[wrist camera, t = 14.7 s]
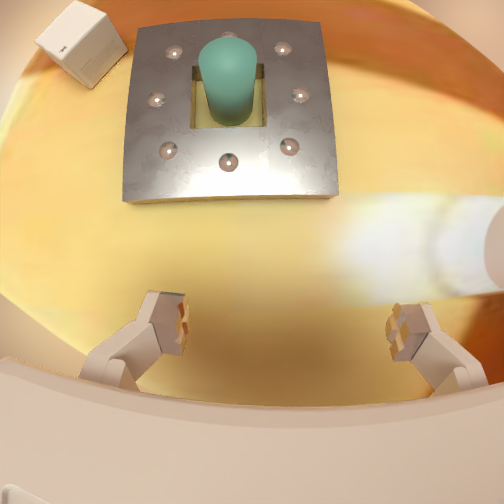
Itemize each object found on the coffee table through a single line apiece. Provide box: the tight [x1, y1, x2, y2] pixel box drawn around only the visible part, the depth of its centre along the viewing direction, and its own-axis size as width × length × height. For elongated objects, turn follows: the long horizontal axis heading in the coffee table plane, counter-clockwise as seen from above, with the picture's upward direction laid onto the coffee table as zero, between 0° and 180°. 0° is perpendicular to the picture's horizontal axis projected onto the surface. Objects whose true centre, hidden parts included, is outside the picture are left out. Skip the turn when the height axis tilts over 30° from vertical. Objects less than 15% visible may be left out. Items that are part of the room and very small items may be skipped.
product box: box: [35, 0, 128, 89], centre depth 23 cm, size 6×6×7 cm
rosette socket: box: [122, 18, 339, 204], centre depth 26 cm, size 18×18×3 cm
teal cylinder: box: [198, 37, 257, 126], centre depth 23 cm, size 4×4×9 cm
